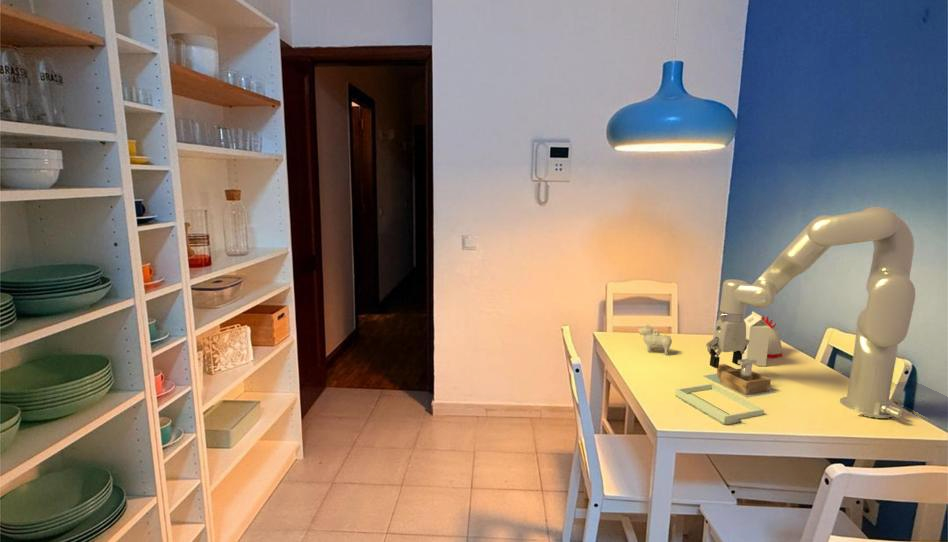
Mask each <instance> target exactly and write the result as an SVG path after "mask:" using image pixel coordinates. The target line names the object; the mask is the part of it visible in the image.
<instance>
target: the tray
mask: <svg viewBox="0 0 948 542" xmlns="http://www.w3.org/2000/svg"><path fill="white" fill-rule="evenodd" d="M706 390H707V391H708V390H713V391H715V392H716V393H719V394H720V395H722V396H724V397H726V398H728V399H730V400H732V401H734V402H736V403H738V404H740V405H741V406H744V407H746V408H748V409H749V410H747V411H741V412H736V413H735V412H734V413H731V414H730V413H728V412H726V411H724V410H723V409H721V408H719V407H717V406H715V405H714V404H713V403H710V402H709V401H706V400H705V399H702V398H701V397H699V396H697V395H696V394H694V392H695V393H696V392H700V391H701V392H702V391H706ZM675 396H676V397H675V398H677V397H678V398H677V399H679V400H680V399H681V400H680V401H682V402H684V403H685V402H686V404H687V405H689V406H691V407H692V408H694V409H696V410H698V411H699V412H701V413H703V414H704V415H706V416H708V417H709V418H711V419H713V420H715V421H717V422H718V423H720V424H721V425H723V426H725V425H726V426H727V425H731V424H732V425H733V424H737V423H742V422H743V420H741V419H747V418H752V417H757V416H758V417H759V416H763V415H764V412H765V408H764V409H763V408H761V407H760V406H758V405H756V404H754V403H752V402H750V401H747V400H746V399H744V398H742V397H740V396H738V395H735V394H734V393H732V392H729V391H728V390H727V389H724V388H722V387H720V386H718V385H715V384H714V383H707V384H699V385H693V386H692V385H691V386H688V387H687V386H686V387H682V388H681V387H680V388H675Z"/></svg>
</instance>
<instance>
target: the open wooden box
mask: <svg viewBox="0 0 948 542" xmlns="http://www.w3.org/2000/svg"><path fill="white" fill-rule="evenodd" d="M740 373H741V368H735V367H732V366H731V365H728V364H725V363H721V364H720V363H719V367H718V368H716V374H717V376H718V377H720V383H722V384H724V385H726V386H728V387H730V388H732V389H734V390H736V391H738V392H740V393H742V394H744V395H749V394H755V393H761V392H767V391H770V390H771V383H772V382H771V381H772V379H771V378H770V377H766V376H764V375H762V374H759V373H758V372H755V371H753V370H752V371H751V380H750V381H745V380H743V379H741V378H740Z"/></svg>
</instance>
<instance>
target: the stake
mask: <svg viewBox="0 0 948 542" xmlns="http://www.w3.org/2000/svg"><path fill="white" fill-rule="evenodd" d="M755 363H756V359H753V358H749V359H742V360H738V364H740V369H741V373H740V378H741V379H743V380H745V381H750V380H751V371H753V364H755Z"/></svg>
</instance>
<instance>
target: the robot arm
mask: <svg viewBox="0 0 948 542" xmlns="http://www.w3.org/2000/svg"><path fill="white" fill-rule="evenodd" d="M867 242H872V244H873V253H872V261H871V266H870V271H869V274H868V278H867V282H866V284H865V285H866V291H867V294H868V296H867V297H868V298H867V303H866V307H865V308H864V309H863V310H862V311H860V313H859V315H858V317H857V319H856V328H855V329H856V331H855V332H856V333H855V340H854V349H853V355H852V362H851V368H850V374H849V382H848V389H847V393H846V396H843V397H841V398H840V399H839V402H840V404H841V405H842V406H844V407H845V408H847V409H849V410H852V411H854V412H857V413H859V416H862V415H864V417H866V416H868V417H867V418H871V417H875V418H874V419H878V418H888V419H890V418H889V417H892V416H893V417H895V418H897V419H901V417H902V416H903V409H902V408H899V407H895V406H894V400H892V399H890V394H891V391H892V383H893V378H894V373H895V365H896V361H897V355H898V346H899V344H901V343H902V342H903V341H904V340H905V339H906V337H907V335H908V332H909V328H910V324H911V319H912V316H913V311H914V305H915V301H916V287H915V285H914V283H913V282H912V280H911V279H910V278H911V269H912V265H913V257H914V250H915V241H914V236H913V234H912V231H911V229H910V227H909V225H908V224H907V223H906V222H905V221H904V219H902V218H901V217H900V216H898V215H897V214H896V213H895V212H894V211H892V210H891V209H888V208H885V207H881V206H872V207H871V206H870V207H868V208H865V209H863V210H862V211H861V210H859V211H855V212H851V213H844V214H838V215H837V214H836V215H827V214H825V215H823V214H822V215H819V216H817V217H815V218H814V219H813V220H811V221H810V222H809V223H808V225H806V227H805V228H804V229H803V230H801V232H800V233H799V234H798V235H797V236H796V237H795V238H794V239H793V240H792V241H791V242H790V243H789V244H788V245H787V246H786V247H785V248H784V249H783V250H782V251H781V252H780V254H779V255H778V256H777V258H776V259H774V261H773V262H771V264H770V265H769V266H768V267H767V268H766V269H765V270H764V272H763V273H762V274H761V275H759V276H758V278H757V279H756V280H755V281H754V282H753V283H752V284H749V283H748V282H746V281H745V280H740V279H735V278H734V279H732V278H731V279H725V280H724V281H723V283H722V288H721V296H720V297H721V298H720V305H719V306H720V307H719V312H718V313H719V314H717V318H718V319H717V321H716V324H715V327H714V330H713V335H712V339H711V340H710V341H708V342H707V343H705V344H706V348H707V349H706V350H707V352H708V353H709V355H710V359H709V366H710V367H712V368H713V369H714V368H715V369H717V368H718V367H719V365H720V355H721V353H722V352H723V353H731V352H732V359H731V360H732V361H731V363H732V364H734V365H737V366H738V367H739V366H740V367H741V365H740V364H738V360H742V354H744V351H745V350H746V348H747V345H748V344H749V340H748V339H746V322H745V321H744V319H746V318H745V316H746V311H747V305H748V306H750V307H755V308H758V309H759V308H760V309H766V308H768V307H770V306H772V304H774V302H775V300H776V296H777V295H778V294H779V293H780V292H781V291H782V290H783V289H784V288H785V287H786V285H788V284H789V283H790V282H791V281H792V280H793V279H795V278H796V277H797V276H799V275H801V274H803V273H805V272H806V271H807V270H809V269H810V268H811V267H812V265H814V264H815V263H816V262H817V261H818V260H819V259H820V258H821V257H822V256H823V255H824V254H825V253H826V252H827V251H828V250H829V249H831V247H834V246H842V245H851V244H858V243H867ZM893 417H892V418H893Z"/></svg>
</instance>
